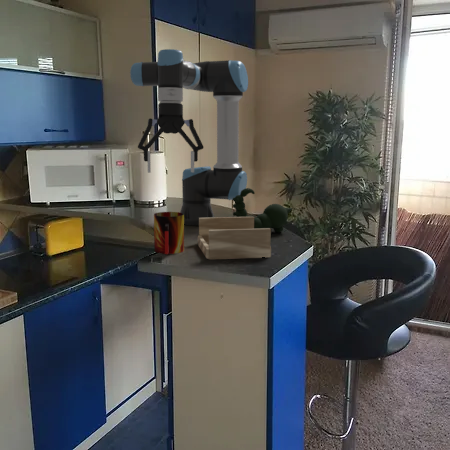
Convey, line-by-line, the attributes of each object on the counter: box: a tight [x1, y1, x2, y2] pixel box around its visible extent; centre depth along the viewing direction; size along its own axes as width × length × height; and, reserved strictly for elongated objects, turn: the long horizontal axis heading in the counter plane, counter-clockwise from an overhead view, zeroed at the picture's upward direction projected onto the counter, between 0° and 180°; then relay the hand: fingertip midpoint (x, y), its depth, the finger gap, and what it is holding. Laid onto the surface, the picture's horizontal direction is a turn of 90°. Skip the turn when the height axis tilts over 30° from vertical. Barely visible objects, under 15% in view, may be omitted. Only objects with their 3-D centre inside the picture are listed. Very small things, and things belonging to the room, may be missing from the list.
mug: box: [153, 211, 185, 255], centre depth 169 cm, size 10×14×12 cm
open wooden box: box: [197, 216, 272, 261], centre depth 172 cm, size 22×20×9 cm
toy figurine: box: [232, 187, 293, 234], centre depth 198 cm, size 9×19×25 cm
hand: (170, 172), depth 165 cm, fingers open, 13 cm apart
